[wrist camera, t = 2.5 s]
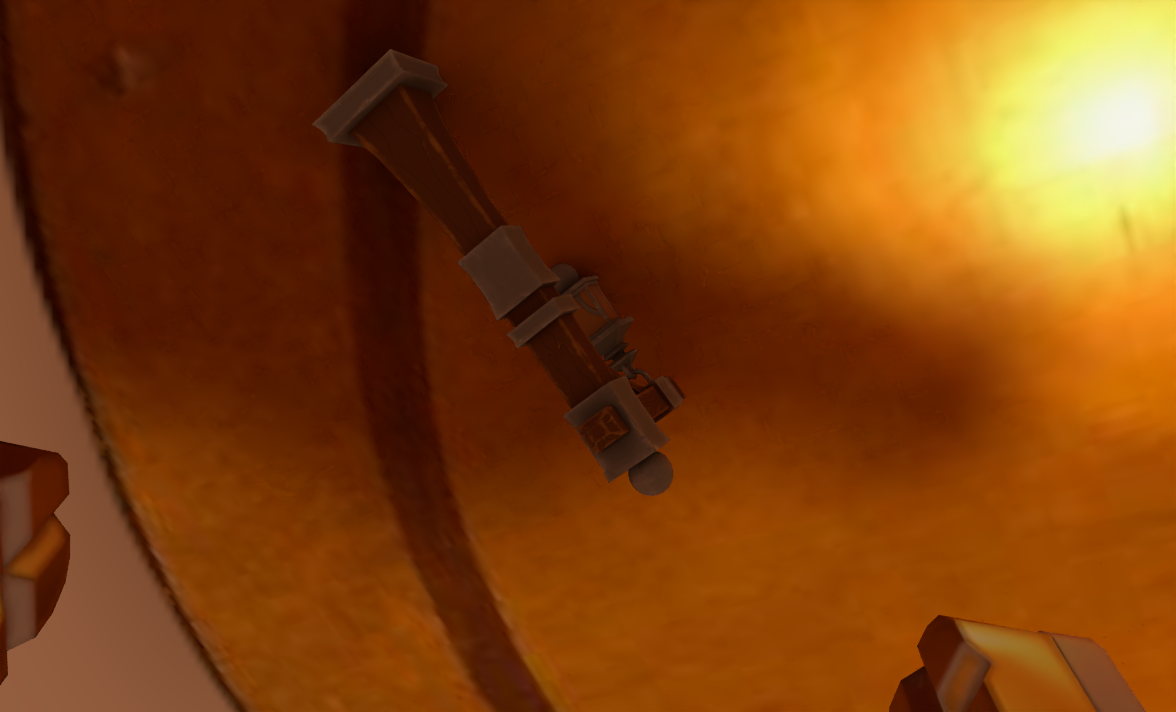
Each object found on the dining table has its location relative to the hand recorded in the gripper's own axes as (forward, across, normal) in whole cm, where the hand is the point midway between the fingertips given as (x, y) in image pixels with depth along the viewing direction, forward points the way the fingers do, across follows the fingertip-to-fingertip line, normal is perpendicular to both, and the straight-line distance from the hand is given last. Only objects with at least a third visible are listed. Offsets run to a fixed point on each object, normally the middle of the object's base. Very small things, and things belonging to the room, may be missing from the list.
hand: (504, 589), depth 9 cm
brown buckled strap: (+10, 0, 0) cm, 10 cm away
